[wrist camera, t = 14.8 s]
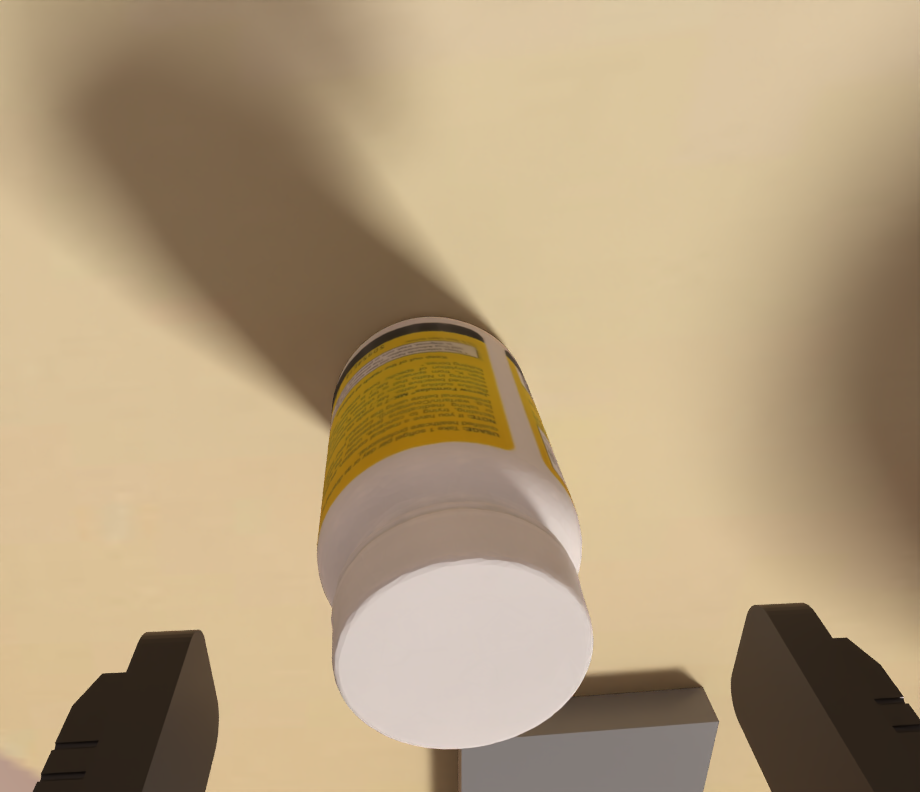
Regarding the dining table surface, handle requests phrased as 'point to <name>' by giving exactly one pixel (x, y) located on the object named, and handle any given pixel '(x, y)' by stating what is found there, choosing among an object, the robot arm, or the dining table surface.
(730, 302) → the dining table surface
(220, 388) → the dining table surface
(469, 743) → the supplement bottle
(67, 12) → the dining table surface
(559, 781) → the slate tile
